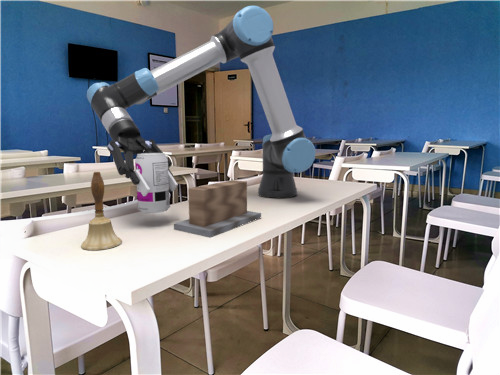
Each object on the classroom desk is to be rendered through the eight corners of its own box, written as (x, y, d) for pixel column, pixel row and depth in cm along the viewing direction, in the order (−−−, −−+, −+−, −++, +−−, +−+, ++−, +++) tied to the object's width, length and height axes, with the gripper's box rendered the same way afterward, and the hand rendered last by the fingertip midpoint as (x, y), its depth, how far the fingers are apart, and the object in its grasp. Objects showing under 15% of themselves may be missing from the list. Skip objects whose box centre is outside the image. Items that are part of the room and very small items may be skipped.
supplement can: (138, 214, 88) (134, 155, 85) (138, 208, 96) (135, 153, 93) (170, 212, 90) (168, 154, 88) (168, 205, 98) (166, 152, 95)
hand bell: (75, 244, 76) (69, 172, 74) (112, 236, 82) (108, 169, 80) (89, 253, 71) (83, 175, 68) (128, 244, 76) (124, 172, 74)
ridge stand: (227, 212, 106) (227, 178, 104) (261, 218, 99) (261, 181, 97) (173, 229, 88) (172, 188, 86) (209, 237, 81) (209, 192, 80)
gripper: (147, 136, 107) (185, 193, 100) (80, 138, 91) (119, 206, 84) (157, 118, 103) (197, 176, 96) (88, 117, 87) (130, 186, 80)
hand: (161, 190), depth 90 cm, fingers closed on supplement can, 8 cm apart
